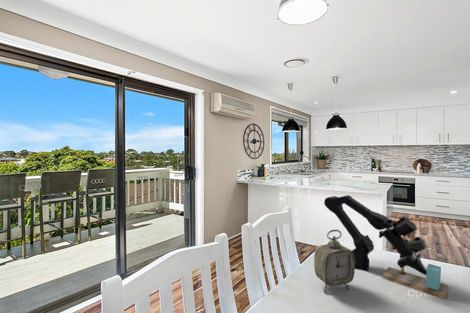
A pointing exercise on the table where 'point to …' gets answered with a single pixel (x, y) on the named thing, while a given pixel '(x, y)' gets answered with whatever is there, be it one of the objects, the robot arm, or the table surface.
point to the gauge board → (414, 282)
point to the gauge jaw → (433, 276)
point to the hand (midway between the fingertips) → (426, 274)
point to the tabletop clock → (334, 263)
